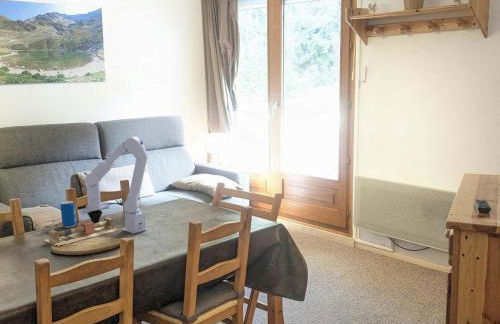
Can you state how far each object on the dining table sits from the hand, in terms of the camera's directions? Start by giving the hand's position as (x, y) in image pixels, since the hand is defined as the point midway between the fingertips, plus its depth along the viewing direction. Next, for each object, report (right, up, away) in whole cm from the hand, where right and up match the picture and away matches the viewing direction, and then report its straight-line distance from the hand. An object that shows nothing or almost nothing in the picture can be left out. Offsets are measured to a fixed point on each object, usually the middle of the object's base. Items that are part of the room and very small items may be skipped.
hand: (95, 226), depth 232 cm
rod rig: (-3, -3, -8) cm, 9 cm away
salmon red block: (-2, -2, -6) cm, 7 cm away
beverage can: (-15, -1, +7) cm, 17 cm away
